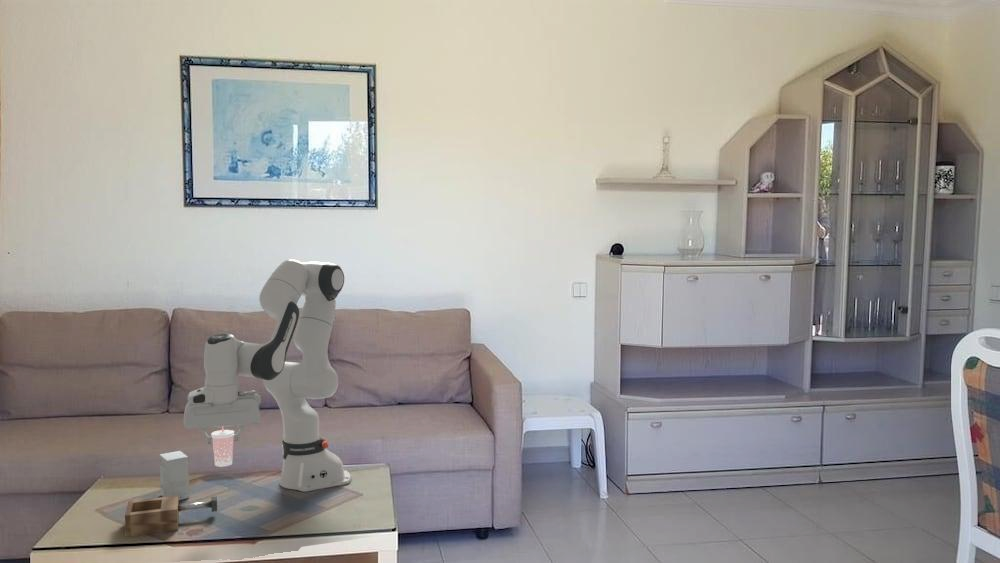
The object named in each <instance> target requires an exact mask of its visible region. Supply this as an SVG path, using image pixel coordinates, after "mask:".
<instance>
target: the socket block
mask: <svg viewBox="0 0 1000 563" xmlns="http://www.w3.org/2000/svg"><path fill="white" fill-rule="evenodd" d="M179 501H180V500H179V499H178V496H169V497H162V496H161V497H152V498H144V499H136V500H128V501H127V506H126V510H125V513H124V526H125V538H130V537H137V536H145V535H153V534H161V533H162V534H163V533H169V532H177V531H179V521H180V511H179V512H178V505H180V504H179Z"/></svg>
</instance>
